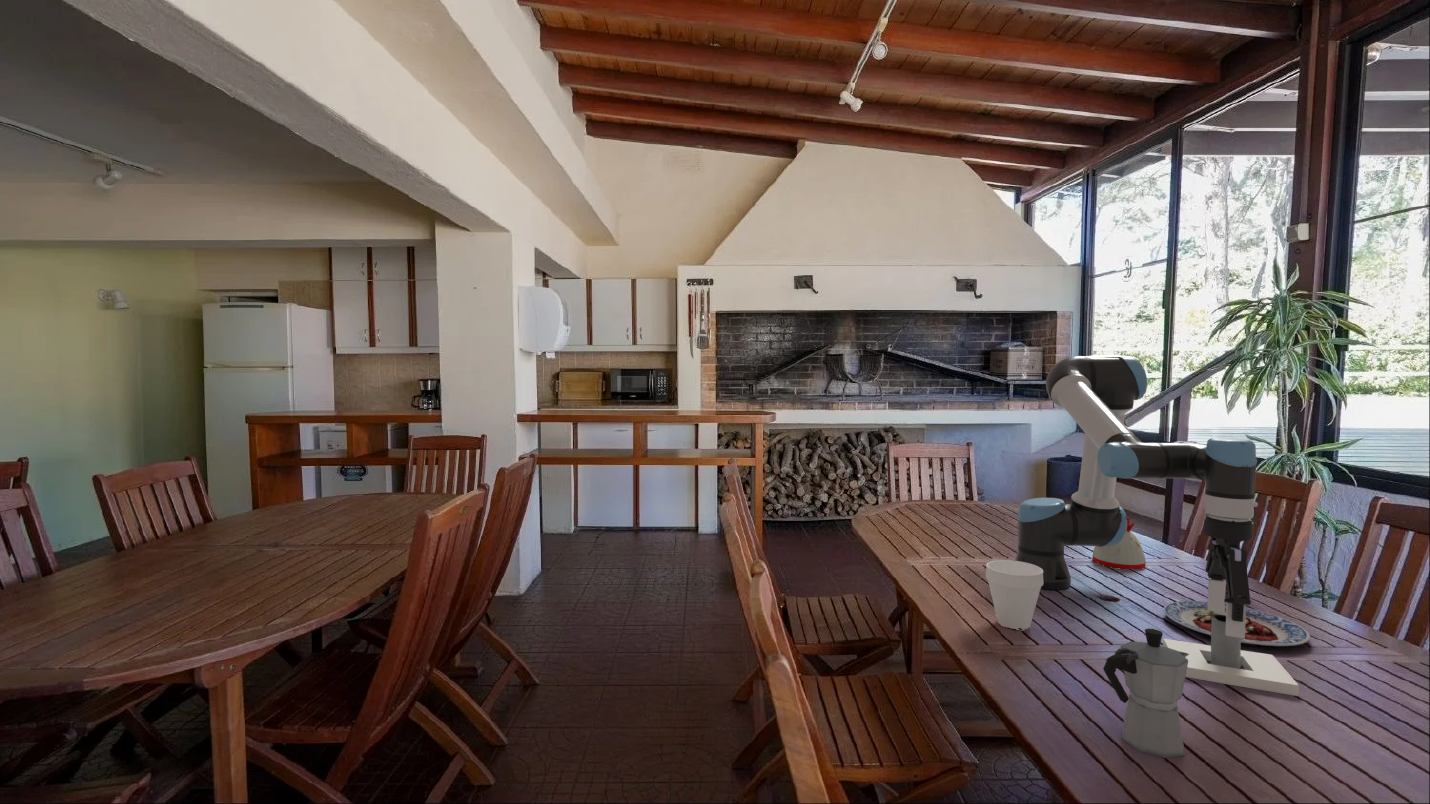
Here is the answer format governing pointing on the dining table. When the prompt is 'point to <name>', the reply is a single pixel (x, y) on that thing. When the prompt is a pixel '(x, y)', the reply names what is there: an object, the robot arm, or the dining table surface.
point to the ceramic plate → (1257, 624)
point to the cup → (1014, 591)
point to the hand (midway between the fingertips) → (1225, 623)
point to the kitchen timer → (1122, 552)
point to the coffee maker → (1150, 694)
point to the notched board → (1257, 673)
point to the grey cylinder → (1224, 644)
